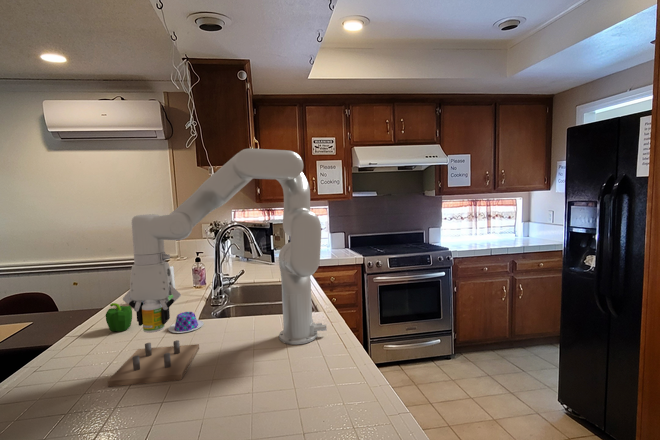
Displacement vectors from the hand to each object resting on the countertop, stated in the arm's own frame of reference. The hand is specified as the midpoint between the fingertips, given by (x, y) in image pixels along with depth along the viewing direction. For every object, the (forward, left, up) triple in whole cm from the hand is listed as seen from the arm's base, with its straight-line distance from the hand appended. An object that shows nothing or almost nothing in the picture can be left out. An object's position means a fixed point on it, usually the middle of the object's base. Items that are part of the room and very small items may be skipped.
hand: (153, 322), depth 97 cm
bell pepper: (+24, -31, -13) cm, 41 cm away
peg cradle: (0, 0, -13) cm, 13 cm away
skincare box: (+19, -62, -13) cm, 66 cm away
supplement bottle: (0, 0, -2) cm, 2 cm away
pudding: (0, -29, -13) cm, 31 cm away
